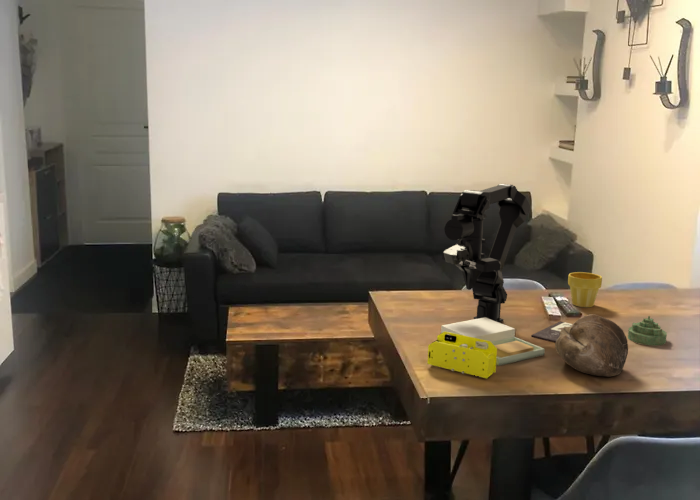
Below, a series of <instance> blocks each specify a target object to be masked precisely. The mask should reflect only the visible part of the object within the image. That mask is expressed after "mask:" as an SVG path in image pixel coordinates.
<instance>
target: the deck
mask: <svg viewBox="0 0 700 500" xmlns="http://www.w3.org/2000/svg"><path fill="white" fill-rule="evenodd" d="M440 327H441V328H440V334H441V333H443V332H444V331H445V332H450V333H454V334H459V335H464V336H468V337H473V338H478V339H482V340H487V341H491V342H493V341H497V340H502V339H507V338H512V337H516V336H515V335H516V328H514V327H512V326H509V325H506V324H504V323H501V322H496V321H494V320H491V319H488V318H486V317H484V318H479V319H474V318H473V319H469V320H464V321H457V322H453V323H448V324H441V326H440ZM447 335H450V334H447ZM484 343H486V342H484Z"/></svg>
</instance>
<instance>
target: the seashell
mask: <svg viewBox="0 0 700 500" xmlns="http://www.w3.org/2000/svg"><path fill="white" fill-rule="evenodd" d="M571 324H572V326H571V327H564V328H563V329H562V330H561V331H560V336H559V338H558V339H557V340H556V343H554V344H555V350H556V352H557V354H558V356H560V358H562V360H564V362H565V363H566V364H567V365H569V366H570V367H571V368H573V369H574V370H575V371H578V372H581V373H583V374H587V375H591V376H598V377H605V378H607V377H609V378H610V377H613V376H618V375H619V374H622V371H623V369H624V366H625V364H626V361H627V358H628V353H629V345H628V337H627V336H626V334H625V332H624V330H623V328H621V327H620V325H618V324H617V323H616V322H614V321H612V320H611V319H608V318H606V317H603V316H600V315H599V314H595V313H593V314H591V313H590V314H588V315H584V316H582V317H580V318H578V319H577V320H576V321H574V322H573V323H571Z"/></svg>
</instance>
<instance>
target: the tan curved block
mask: <svg viewBox="0 0 700 500" xmlns="http://www.w3.org/2000/svg"><path fill="white" fill-rule="evenodd" d="M495 347H496V348H497V356H498V357H501V358H502V357H506V356H511V355H515V354H519V353H524V352H528V351H533V349H534V347H532V346H529V345H527V344H524V343H522V342H519V341H513V342H508V343H504V344H499V345H495Z"/></svg>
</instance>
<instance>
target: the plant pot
mask: <svg viewBox="0 0 700 500" xmlns="http://www.w3.org/2000/svg"><path fill="white" fill-rule="evenodd" d="M602 282H603V276H602V275H599V274H596V273H592V272H583V271H577V272H576V271H575V272H570V273H569V274H568V278H567V284H568V286H569V289H570V290H569V291H570V297H571V304H572V305H573V306H575V307H579V308H592V307H594V305H595V303H596V302H595V301H596V299H597V296H598V293H599V289H601V287H602Z"/></svg>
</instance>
